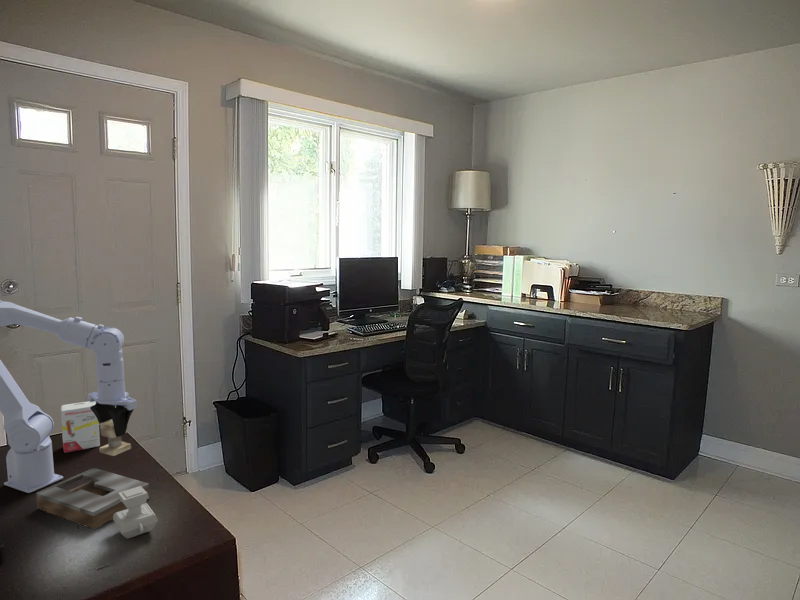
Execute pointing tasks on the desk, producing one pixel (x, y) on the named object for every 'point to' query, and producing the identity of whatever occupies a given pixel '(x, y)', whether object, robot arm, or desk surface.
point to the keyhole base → (80, 515)
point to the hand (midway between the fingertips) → (114, 433)
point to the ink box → (79, 426)
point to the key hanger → (112, 440)
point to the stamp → (134, 513)
